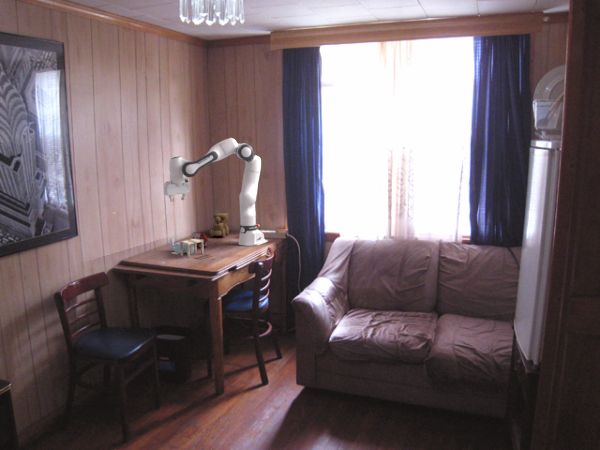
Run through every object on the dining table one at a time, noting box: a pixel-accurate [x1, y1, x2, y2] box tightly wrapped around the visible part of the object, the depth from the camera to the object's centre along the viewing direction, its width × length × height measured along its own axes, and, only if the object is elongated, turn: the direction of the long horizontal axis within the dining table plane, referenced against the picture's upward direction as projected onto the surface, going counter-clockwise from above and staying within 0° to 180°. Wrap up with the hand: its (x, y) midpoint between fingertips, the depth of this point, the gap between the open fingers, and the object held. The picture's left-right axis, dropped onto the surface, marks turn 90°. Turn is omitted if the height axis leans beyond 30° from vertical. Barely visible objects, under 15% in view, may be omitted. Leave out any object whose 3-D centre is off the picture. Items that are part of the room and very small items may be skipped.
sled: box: [169, 237, 195, 254], centre depth 334 cm, size 6×23×8 cm, turn 54°
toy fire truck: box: [191, 232, 209, 249], centre depth 350 cm, size 7×12×10 cm, turn 68°
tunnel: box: [179, 238, 205, 259], centre depth 328 cm, size 13×8×10 cm, turn 144°
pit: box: [194, 253, 213, 260], centre depth 323 cm, size 10×6×1 cm, turn 144°
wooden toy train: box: [209, 212, 230, 238], centre depth 390 cm, size 20×11×17 cm, turn 174°
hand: (177, 200), depth 343 cm, fingers open, 8 cm apart
